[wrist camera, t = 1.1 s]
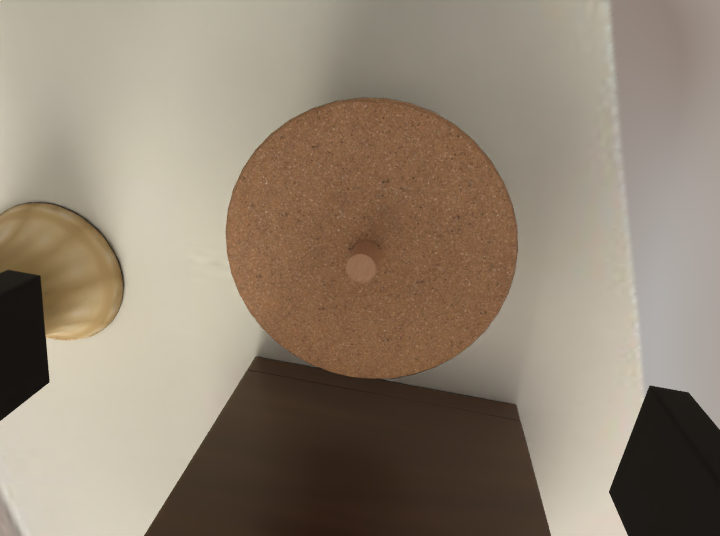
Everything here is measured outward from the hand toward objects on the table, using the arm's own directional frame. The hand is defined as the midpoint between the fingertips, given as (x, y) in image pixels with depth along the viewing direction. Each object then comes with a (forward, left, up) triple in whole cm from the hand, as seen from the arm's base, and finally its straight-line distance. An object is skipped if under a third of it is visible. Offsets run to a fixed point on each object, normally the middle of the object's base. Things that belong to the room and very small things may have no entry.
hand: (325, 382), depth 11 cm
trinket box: (0, 0, -16) cm, 16 cm away
